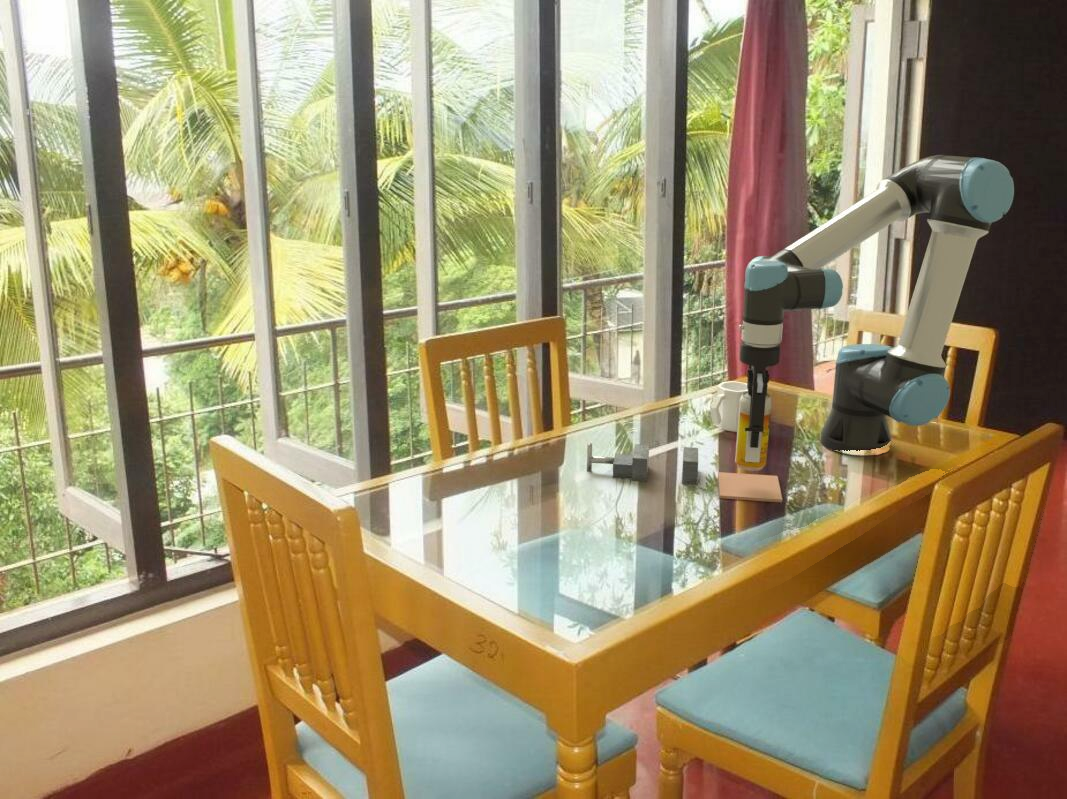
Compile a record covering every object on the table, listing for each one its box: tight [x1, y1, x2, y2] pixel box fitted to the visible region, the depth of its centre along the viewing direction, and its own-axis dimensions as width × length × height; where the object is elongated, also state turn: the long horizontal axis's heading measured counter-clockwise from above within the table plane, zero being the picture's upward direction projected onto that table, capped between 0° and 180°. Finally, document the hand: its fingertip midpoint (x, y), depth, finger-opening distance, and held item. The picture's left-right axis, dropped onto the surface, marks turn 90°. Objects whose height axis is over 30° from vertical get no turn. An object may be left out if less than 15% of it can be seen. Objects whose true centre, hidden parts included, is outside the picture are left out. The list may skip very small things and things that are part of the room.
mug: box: [709, 380, 748, 433], centre depth 223 cm, size 12×9×10 cm
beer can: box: [734, 391, 772, 472], centre depth 187 cm, size 6×6×15 cm
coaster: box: [717, 471, 783, 503], centre depth 190 cm, size 12×12×1 cm
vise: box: [586, 442, 699, 486], centre depth 197 cm, size 23×8×6 cm, turn 81°
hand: (751, 454), depth 188 cm, fingers closed on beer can, 6 cm apart
